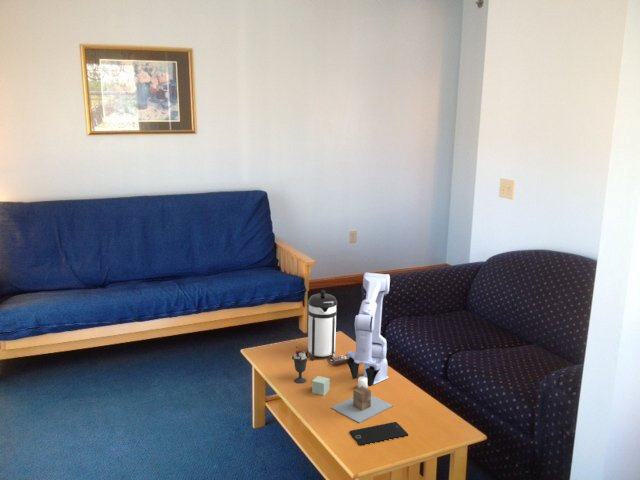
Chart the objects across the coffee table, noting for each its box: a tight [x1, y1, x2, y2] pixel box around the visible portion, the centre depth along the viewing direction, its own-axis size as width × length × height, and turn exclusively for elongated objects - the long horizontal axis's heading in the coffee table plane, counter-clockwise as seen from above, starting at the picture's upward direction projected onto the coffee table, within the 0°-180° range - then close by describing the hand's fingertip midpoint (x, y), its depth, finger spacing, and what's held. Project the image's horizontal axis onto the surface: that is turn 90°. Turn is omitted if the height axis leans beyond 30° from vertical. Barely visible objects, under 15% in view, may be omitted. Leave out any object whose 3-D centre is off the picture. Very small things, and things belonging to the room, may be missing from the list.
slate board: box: [330, 394, 394, 424], centre depth 215 cm, size 18×14×1 cm
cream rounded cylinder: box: [357, 376, 369, 389], centre depth 229 cm, size 4×4×4 cm
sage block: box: [311, 375, 331, 396], centre depth 226 cm, size 5×5×5 cm
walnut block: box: [352, 386, 372, 411], centre depth 214 cm, size 4×4×6 cm
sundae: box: [291, 346, 310, 384], centre depth 233 cm, size 7×7×15 cm
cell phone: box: [349, 421, 409, 446], centre depth 198 cm, size 9×18×1 cm, turn 111°
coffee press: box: [307, 289, 338, 361], centre depth 258 cm, size 17×16×30 cm
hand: (362, 381), depth 213 cm, fingers open, 7 cm apart
